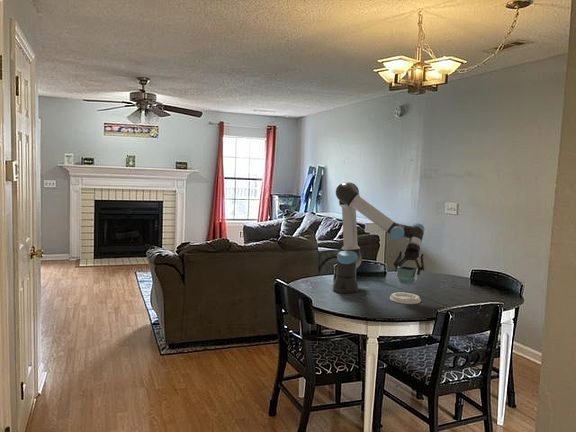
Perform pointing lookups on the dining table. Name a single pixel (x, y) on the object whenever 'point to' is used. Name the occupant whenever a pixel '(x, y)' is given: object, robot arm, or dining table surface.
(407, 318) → the dining table surface
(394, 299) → the plant saucer
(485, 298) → the dining table surface
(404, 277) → the flower pot
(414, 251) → the robot arm
